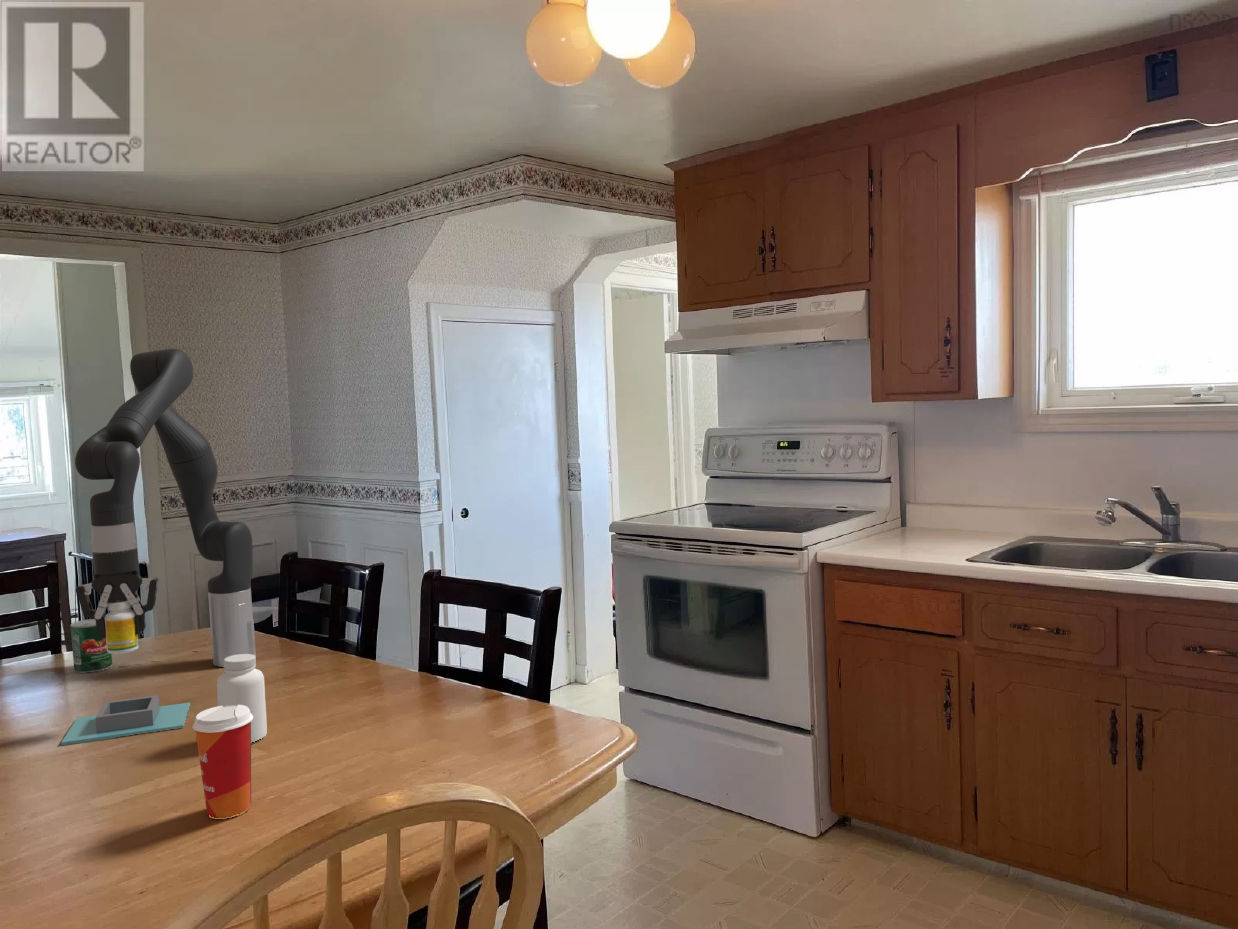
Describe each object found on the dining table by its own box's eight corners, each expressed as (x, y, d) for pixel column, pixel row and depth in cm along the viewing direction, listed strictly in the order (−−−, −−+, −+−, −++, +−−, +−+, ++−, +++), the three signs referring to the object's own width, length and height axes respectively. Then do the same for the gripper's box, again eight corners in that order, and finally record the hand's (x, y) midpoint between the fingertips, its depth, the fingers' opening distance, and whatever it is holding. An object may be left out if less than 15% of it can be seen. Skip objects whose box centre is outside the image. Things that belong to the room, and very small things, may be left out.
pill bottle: (277, 733, 167) (272, 653, 166) (242, 749, 160) (237, 666, 159) (245, 728, 170) (240, 649, 169) (210, 744, 163) (204, 661, 162)
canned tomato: (90, 663, 218) (86, 618, 218) (120, 663, 217) (116, 618, 216) (65, 673, 211) (62, 626, 210) (96, 673, 209) (93, 626, 209)
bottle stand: (190, 705, 185) (188, 688, 184) (183, 728, 172) (182, 709, 171) (77, 720, 178) (76, 702, 178) (61, 745, 165) (59, 726, 164)
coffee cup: (210, 800, 140) (204, 704, 138) (266, 796, 140) (259, 701, 139) (189, 826, 131) (182, 724, 130) (248, 822, 132) (241, 721, 131)
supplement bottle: (104, 650, 174) (100, 601, 173) (135, 645, 178) (131, 596, 177) (110, 656, 170) (106, 605, 169) (141, 650, 173) (138, 600, 173)
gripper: (159, 541, 178) (166, 626, 179) (75, 548, 173) (82, 635, 175) (154, 546, 171) (161, 635, 172) (66, 554, 166) (74, 645, 168)
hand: (121, 635), depth 173 cm, fingers closed on supplement bottle, 5 cm apart
